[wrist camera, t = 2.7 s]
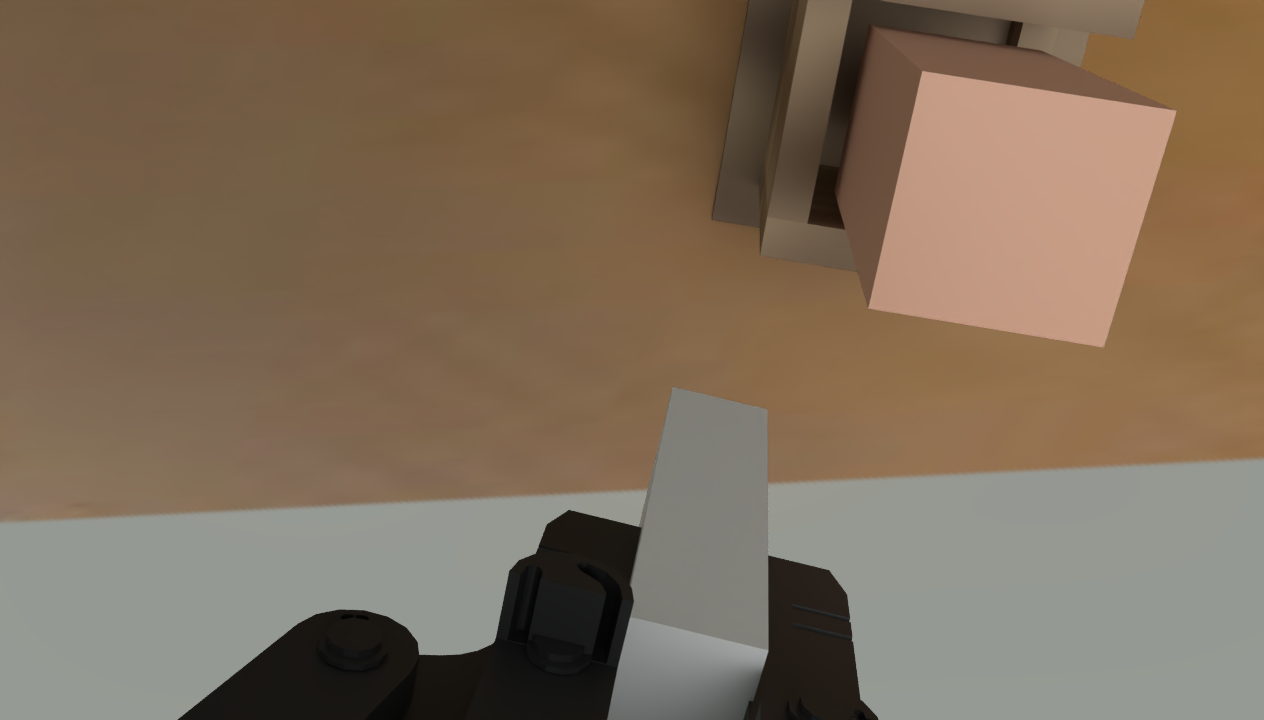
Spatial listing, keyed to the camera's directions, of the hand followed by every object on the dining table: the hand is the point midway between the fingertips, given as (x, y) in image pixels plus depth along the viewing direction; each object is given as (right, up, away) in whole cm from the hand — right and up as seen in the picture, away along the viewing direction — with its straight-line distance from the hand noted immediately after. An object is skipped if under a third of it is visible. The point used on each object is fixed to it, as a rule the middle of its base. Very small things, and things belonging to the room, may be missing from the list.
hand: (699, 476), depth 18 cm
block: (+8, +9, +17) cm, 21 cm away
